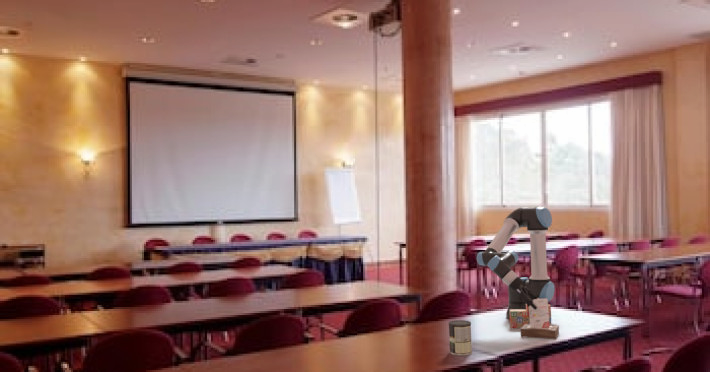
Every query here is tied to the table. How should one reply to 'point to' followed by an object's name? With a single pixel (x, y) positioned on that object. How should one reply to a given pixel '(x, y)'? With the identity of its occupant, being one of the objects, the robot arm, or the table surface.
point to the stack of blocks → (522, 317)
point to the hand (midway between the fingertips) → (543, 311)
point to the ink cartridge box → (537, 319)
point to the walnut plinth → (540, 331)
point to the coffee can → (460, 337)
